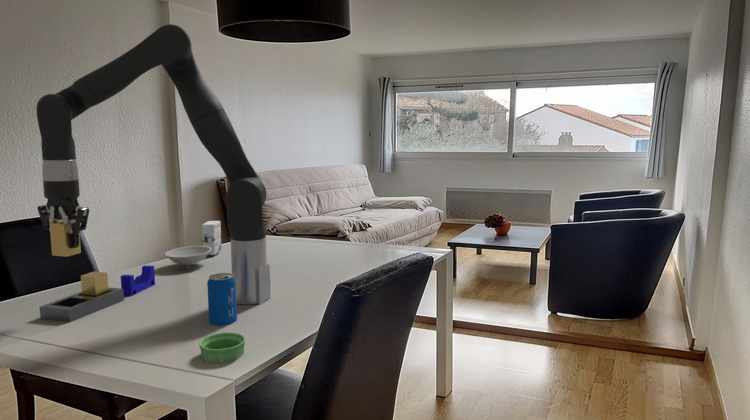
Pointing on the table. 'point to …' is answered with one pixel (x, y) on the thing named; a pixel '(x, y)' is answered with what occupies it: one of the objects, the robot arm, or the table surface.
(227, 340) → the ramekin
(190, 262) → the dish
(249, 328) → the table surface
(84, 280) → the beige cube
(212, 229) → the ink box
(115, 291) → the grey flat open box
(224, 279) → the beverage can
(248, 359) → the table surface
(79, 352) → the table surface
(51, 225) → the wooden toy block
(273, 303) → the table surface
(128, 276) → the cable clip
